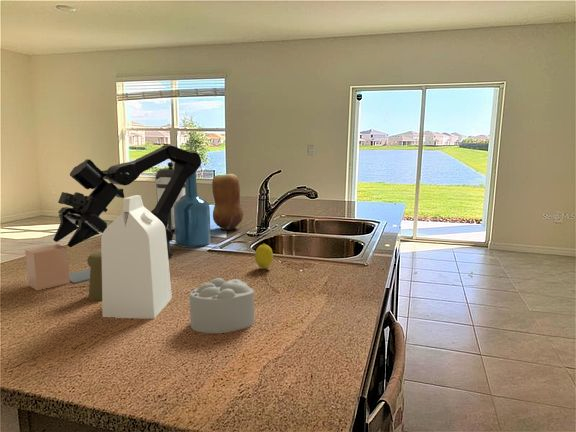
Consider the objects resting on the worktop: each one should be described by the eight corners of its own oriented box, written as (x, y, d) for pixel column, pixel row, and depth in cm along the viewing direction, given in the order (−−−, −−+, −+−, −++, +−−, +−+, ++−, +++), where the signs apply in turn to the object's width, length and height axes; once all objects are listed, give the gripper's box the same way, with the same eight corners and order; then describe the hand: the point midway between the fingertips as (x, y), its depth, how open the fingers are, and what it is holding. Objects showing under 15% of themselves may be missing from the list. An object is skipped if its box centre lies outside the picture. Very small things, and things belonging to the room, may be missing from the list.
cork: (88, 301, 97) (85, 257, 95) (88, 293, 102) (84, 251, 100) (116, 297, 99) (112, 254, 98) (114, 289, 105) (111, 249, 103)
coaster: (98, 267, 123) (98, 266, 123) (113, 273, 118) (113, 272, 118) (60, 276, 115) (60, 275, 115) (74, 283, 109) (74, 282, 109)
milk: (126, 297, 100) (118, 193, 95) (171, 298, 99) (166, 193, 95) (102, 317, 88) (93, 200, 83) (154, 318, 88) (147, 200, 83)
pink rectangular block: (60, 278, 114) (57, 243, 112) (70, 282, 110) (66, 247, 108) (29, 285, 108) (24, 249, 106) (37, 290, 104) (33, 253, 102)
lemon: (276, 267, 124) (276, 242, 123) (267, 272, 119) (267, 246, 118) (260, 265, 127) (260, 240, 125) (251, 270, 122) (251, 244, 120)
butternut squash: (218, 225, 188) (217, 172, 184) (246, 226, 186) (245, 172, 182) (208, 232, 174) (207, 174, 170) (238, 233, 173) (237, 175, 168)
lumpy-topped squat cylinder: (258, 326, 84) (258, 287, 83) (196, 338, 79) (194, 296, 77) (242, 308, 94) (241, 272, 92) (186, 318, 88) (184, 280, 87)
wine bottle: (216, 245, 152) (214, 165, 147) (182, 250, 145) (178, 166, 139) (202, 238, 163) (199, 163, 158) (170, 242, 156) (166, 164, 151)
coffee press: (188, 234, 171) (185, 163, 165) (150, 233, 171) (146, 162, 166) (197, 225, 188) (195, 161, 182) (163, 225, 188) (160, 161, 183)
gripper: (62, 179, 117) (23, 221, 110) (92, 183, 105) (50, 231, 99) (92, 203, 124) (56, 244, 118) (122, 209, 113) (85, 255, 106)
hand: (61, 243), depth 110 cm, fingers open, 9 cm apart
